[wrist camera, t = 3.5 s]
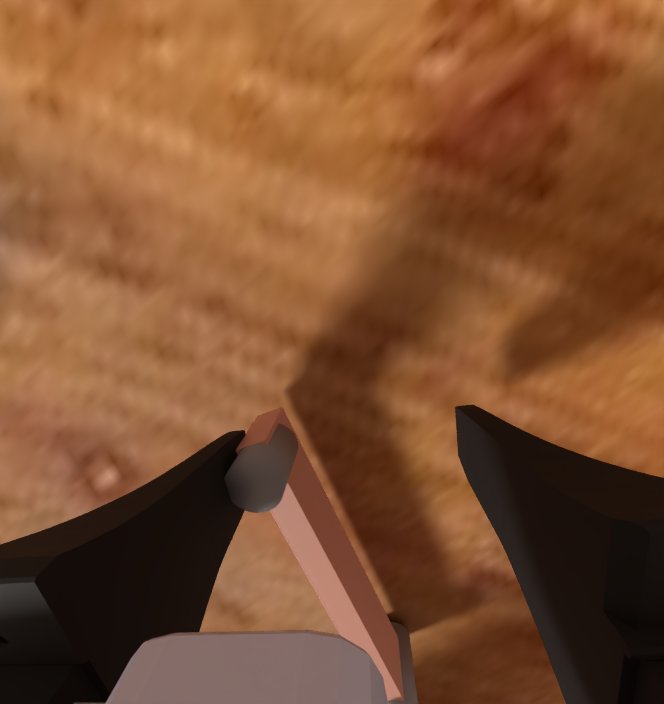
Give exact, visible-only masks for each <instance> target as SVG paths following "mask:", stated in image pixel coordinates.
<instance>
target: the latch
mask: <svg viewBox="0 0 664 704" xmlns="http://www.w3.org/2000/svg"><path fill="white" fill-rule="evenodd" d="M236 452H237V454H238V456H237V457H236V459H235V460H234V462H233V464H232V465H231V467H230V469H229V470H228V472H227V473H226V475H225V478H224V479H225V483H226V486H227V489H228V492H229V495H230V499H231V501H232V502H233V503H234V504H235V505H236V506H238V507H239V508H241V509H243V510H246V511H249V512H255V513H261V512H267V511H270V512H271V514H272V516H273V518H274V519H275V521H276V523H277V525H278V526H279V528H280V530H281V532H282V534H283V535H284V537H285V539H286V541H287V542H288V544H289V546H290V548H291V549H292V551H293V553H294V555H295V556H296V558H297V560H298V562H299V564H300V565H301V567H302V569H303V571H304V572H305V574H306V576H307V578H308V579H309V581H310V583H311V585H312V587H313V588H314V590H315V592H316V594H317V595H318V597H319V599H320V601H321V602H322V604H323V606H324V608H325V609H326V611H327V613H328V615H329V617H330V618H331V620H332V622H333V624H334V625H335V627H336V629H337V631H338V632H339V634H340V636H342V637H344V638H345V639H347V640H349V641H351V642H352V643H354V644H356V645H357V646H359V647H361V648H363V649H364V650H365V651H366V652H367V653H368V654H369V655H370V656H371V658H372V660H373V661H374V663H375V665H376V666H377V668H378V670H379V671H380V673H381V675H382V676H383V679H384V684H385V690H386V695H387V700H388V703H389V704H418V698H417V690H416V683H415V675H414V667H413V660H412V652H411V644H410V637H409V632H408V630H407V629H406V628H405V627H404V626H403V625H401V624H399V623H395V622H390V620H389V619H388V617H387V615H386V613H385V611H384V609H383V607H382V605H381V603H380V601H379V599H378V597H377V595H376V593H375V591H374V589H373V587H372V585H371V583H370V581H369V579H368V577H367V575H366V573H365V571H364V569H363V567H362V565H361V563H360V561H359V559H358V557H357V555H356V553H355V551H354V549H353V547H352V545H351V543H350V541H349V539H348V537H347V535H346V533H345V531H344V529H343V527H342V525H341V523H340V521H339V519H338V517H337V515H336V513H335V511H334V509H333V507H332V505H331V503H330V501H329V499H328V497H327V495H326V493H325V491H324V489H323V487H322V485H321V483H320V481H319V479H318V477H317V475H316V473H315V471H314V469H313V467H312V465H311V463H310V461H309V459H308V457H307V455H306V453H305V451H304V449H303V447H302V445H301V443H300V441H299V439H298V437H297V435H296V433H295V431H294V429H293V427H292V425H291V423H290V421H289V420H288V418H287V416H286V414H285V412H284V410H283V408H279V409H276V410H273V411H270V412H268V413H265V414H262V415H259V416H257V418H256V419H255V421H254V422H253V424H252V426H251V427H250V429H249V430H248V432H247V433H246V435H245V437H244V438H243V440H242V441H241V443H240V444H239V446H238V447H237V449H236Z"/></svg>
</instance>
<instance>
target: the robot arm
mask: <svg viewBox="0 0 664 704" xmlns="http://www.w3.org/2000/svg"><path fill="white" fill-rule="evenodd" d="M455 412H456V427H457V442H458V456H459V458H460V461H461V464H462V466H463V469H464V472H465V474H466V477H467V479H468V481H469V483H470V485H471V487H472V489H473V491H474V493H475V495H476V497H477V498H478V500H479V502H480V504H481V506H482V508H483V510H484V511H485V513H486V515H487V517H488V519H489V521H490V522H491V524H492V526H493V528H494V530H495V532H496V534H497V535H498V537H499V539H500V541H501V543H502V545H503V547H504V549H505V551H506V553H507V556H508V558H509V560H510V563H511V565H512V568H513V570H514V572H515V575H516V577H517V579H518V582H519V584H520V586H521V589H522V591H523V594H524V596H525V599H526V601H527V604H528V606H529V609H530V611H531V613H532V616H533V618H534V621H535V623H536V626H537V628H538V631H539V633H540V636H541V639H542V641H543V644H544V646H545V649H546V652H547V654H548V657H549V659H550V662H551V664H552V667H553V670H554V672H555V675H556V677H557V680H558V683H559V685H560V688H561V691H562V694H563V696H564V699H565V702H566V704H664V478H661V477H657V476H653V475H649V474H645V473H641V472H637V471H633V470H629V469H626V468H622V467H619V466H616V465H612V464H609V463H605V462H602V461H599V460H596V459H593V458H590V457H587V456H584V455H581V454H578V453H575V452H573V451H570V450H567V449H565V448H562V447H559V446H557V445H554V444H552V443H549V442H547V441H545V440H543V439H540V438H538V437H536V436H534V435H532V434H529V433H527V432H525V431H523V430H521V429H519V428H517V427H515V426H513V425H511V424H509V423H507V422H505V421H503V420H502V419H500V418H498V417H496V416H494V415H492V414H490V413H489V412H487V411H485V410H483V409H481V408H479V407H477V406H475V405H465V406H456V407H455ZM245 435H246V434H245V431H244V430H241V431H232V432H228V433H226V434H224V435H223V436H221V437H219V438H218V439H216V440H215V441H213V442H212V443H210V444H209V445H207V446H206V447H204V448H203V449H201V450H200V451H198V452H197V453H195V454H194V455H192V456H191V457H189V458H188V459H186V460H185V461H183V462H181V463H180V464H178V465H177V466H175V467H174V468H172V469H170V470H169V471H167V472H166V473H164V474H162V475H161V476H159V477H158V478H156V479H154V480H152V481H151V482H149V483H147V484H145V485H143V486H142V487H140V488H138V489H136V490H134V491H132V492H130V493H128V494H127V495H125V496H123V497H120V498H118V499H116V500H114V501H112V502H110V503H108V504H105V505H103V506H101V507H99V508H97V509H95V510H93V511H90V512H88V513H86V514H83V515H81V516H78V517H76V518H74V519H71V520H69V521H66V522H64V523H61V524H58V525H56V526H53V527H51V528H48V529H45V530H42V531H40V532H37V533H34V534H31V535H28V536H25V537H22V538H19V539H16V540H13V541H10V542H7V543H4V544H1V545H0V704H389V703H388V700H387V695H386V690H385V684H384V679H383V676H382V675H381V673H380V671H379V670H378V668H377V666H376V665H375V663H374V661H373V660H372V658H371V656H370V655H369V654H368V653H367V652H366V651H365V650H364V649H363V648H361V647H359V646H357V645H356V644H354V643H352V642H351V641H349V640H347V639H345V638H344V637H342V636H340V635H337V634H331V633H324V632H318V631H312V630H283V631H236V632H199V631H200V627H201V624H202V621H203V618H204V614H205V611H206V608H207V604H208V601H209V598H210V595H211V592H212V589H213V586H214V583H215V580H216V577H217V574H218V571H219V568H220V566H221V563H222V561H223V558H224V556H225V553H226V551H227V549H228V546H229V544H230V542H231V540H232V538H233V535H234V533H235V531H236V529H237V526H238V524H239V522H240V520H241V517H242V515H243V513H244V510H243V509H241V508H239V507H238V506H236V505H235V504H234V503H233V502H232V501H231V499H230V495H229V492H228V489H227V486H226V483H225V479H224V478H225V475H226V473H227V472H228V470H229V469H230V467H231V465H232V464H233V462H234V460H235V459H236V457H237V456H238V454H237V452H236V449H237V447H238V446H239V444H240V443H241V441H242V440H243V438H244V437H245Z"/></svg>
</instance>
